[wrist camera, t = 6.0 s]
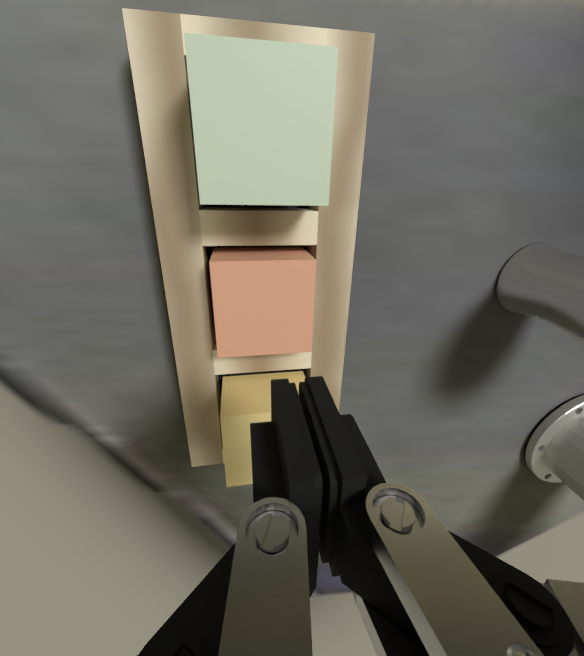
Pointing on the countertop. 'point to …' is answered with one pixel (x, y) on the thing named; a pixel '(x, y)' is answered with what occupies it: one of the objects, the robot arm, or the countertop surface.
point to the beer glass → (545, 287)
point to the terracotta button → (262, 300)
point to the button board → (242, 210)
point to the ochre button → (245, 418)
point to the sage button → (261, 119)
